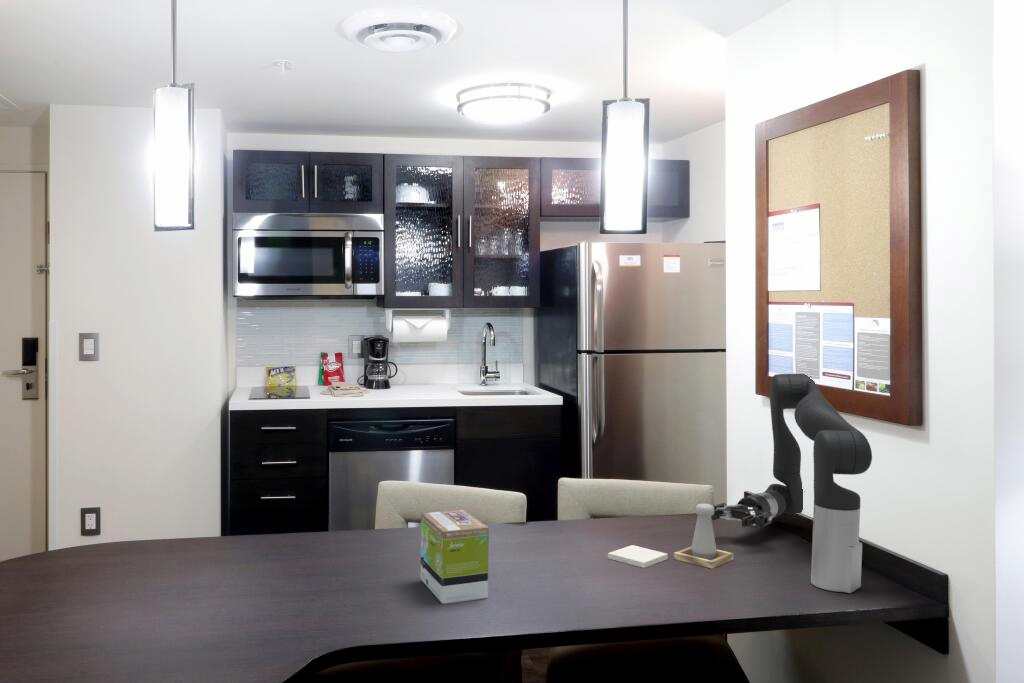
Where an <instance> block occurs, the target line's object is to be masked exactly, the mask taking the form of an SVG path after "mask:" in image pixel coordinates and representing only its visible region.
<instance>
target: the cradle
mask: <svg viewBox="0 0 1024 683" xmlns="http://www.w3.org/2000/svg"><path fill="white" fill-rule="evenodd" d="M691 547H692V545H691V546H688V547H685V548H683V549H680V550H678V551H674V552H673V560H676V561H680V562H684V563H688V564H692V565H697V566H699V567H700V566H701V567H703V568H706V569H711V570H712V569H715V568H717V567H720V566H721V565H724V564H727V563H729V562H732V561H733V560H734V552H729V551H725V550H722V549H717V550H716V554H715V556H714V557H715V558H713V560H707V559H703V558H699V557H695V556H693V554H692V551H691Z"/></svg>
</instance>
